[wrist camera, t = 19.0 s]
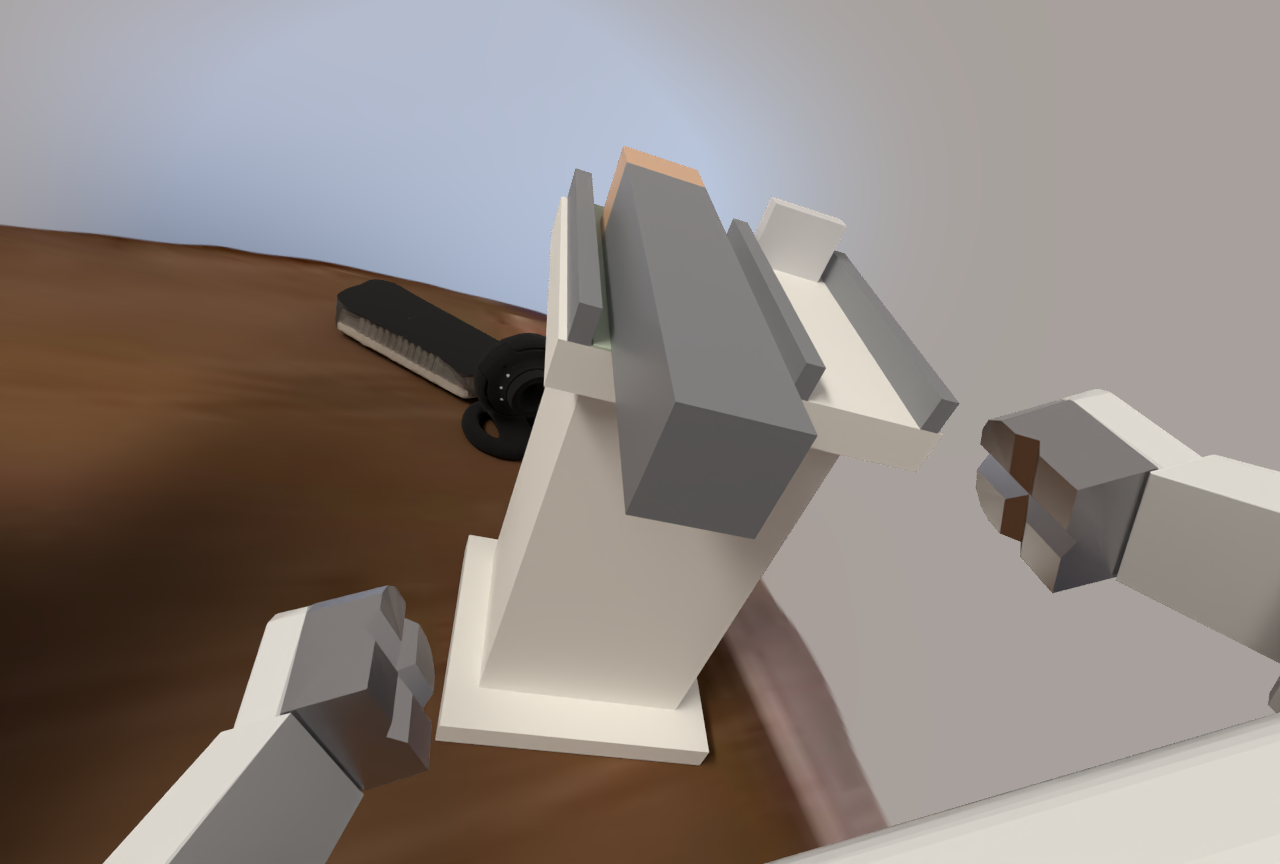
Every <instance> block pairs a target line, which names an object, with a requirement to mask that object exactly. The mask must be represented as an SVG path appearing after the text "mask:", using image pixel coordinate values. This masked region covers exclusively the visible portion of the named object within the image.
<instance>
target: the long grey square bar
mask: <svg viewBox="0 0 1280 864" xmlns="http://www.w3.org/2000/svg"><path fill="white" fill-rule="evenodd" d="M600 226H601V237H602V249H603V261H604V272H605V284H606V295H607V307H608V319H609V330H610V342H611V353H612V365H613V377H614V388H615V400H616V411H617V423H618V434H619V446H620V458H621V469H622V481H623V492H624V504H625V515H630V516H635V517H640V518H645V519H651V520H656V521H661V522H666V523H672V524H677V525H682V526H687V527H692V528H698V529H703V530H708V531H713V532H719V533H724V534H729V535H734V536H739V537H745V538H750V539H755V538H756V536H757V535H758V533H759V531H760V530H761V528H762V526H763V525H764V523H765V521H766V520H767V518H768V517H769V515H770V513H771V512H772V510H773V508H774V507H775V505H776V503H777V502H778V500H779V498H780V497H781V495H782V494H783V492H784V490H785V489H786V487H787V485H788V484H789V482H790V480H791V479H792V477H793V475H794V474H795V472H796V471H797V469H798V467H799V466H800V464H801V462H802V461H803V459H804V457H805V456H806V454H807V452H808V451H809V449H810V448H811V446H812V444H813V443H814V441H815V439H816V438H817V436H818V435H817V433H816V431H815V428H814V426H813V424H812V422H811V420H810V417H809V415H808V413H807V411H806V409H805V406H804V404H803V402H802V400H801V398H800V395H799V393H798V391H797V389H796V387H795V384H794V382H793V380H792V378H791V376H790V373H789V371H788V369H787V367H786V365H785V362H784V360H783V358H782V356H781V354H780V351H779V349H778V347H777V345H776V342H775V340H774V338H773V336H772V334H771V331H770V329H769V327H768V325H767V323H766V320H765V318H764V316H763V314H762V312H761V309H760V307H759V305H758V303H757V301H756V298H755V296H754V294H753V292H752V290H751V287H750V285H749V283H748V281H747V279H746V276H745V274H744V272H743V270H742V268H741V265H740V263H739V261H738V259H737V257H736V254H735V252H734V250H733V248H732V245H731V243H730V241H729V239H728V237H727V234H726V232H725V230H724V228H723V226H722V224H721V221H720V219H719V217H718V215H717V212H716V210H715V208H714V206H713V204H712V201H711V199H710V197H709V195H708V193H707V190H706V188H705V186H704V184H703V182H702V179H701V177H700V175H699V173H698V171H697V170H695V169H692V168H689V167H686V166H683V165H680V164H677V163H674V162H671V161H668V160H664V159H662V158H659V157H656V156H653V155H649V154H647V153H644V152H641V151H637V150H635V149H632V148H629V147H625V146H623V149H622V152H621V155H620V158H619V161H618V165H617V168H616V171H615V174H614V178H613V181H612V184H611V187H610V190H609V194H608V197H607V200H606V203H605V206H604V210H603V213H602V216H601V219H600Z"/></svg>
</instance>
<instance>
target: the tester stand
mask: <svg viewBox="0 0 1280 864" xmlns="http://www.w3.org/2000/svg"><path fill="white" fill-rule="evenodd" d="M603 210H604V207H602V206H599V205H595V204H594V199H593V186H592V174H591V173H589V172H585V171H582V170H579V169H575V172H574V176H573V180H572V183H571V187H570V190H569V194H568V198H566V197H563V196H562V197H561V200H560V203H559V207H558V211H557V215H556V218H555V222H554V226H553V229H552V233H551V250H550V271H549V290H548V311H547V331H546V351H545V371H544V387H545V389H544V393H543V396H542V399H541V402H540V406H539V409H538V412H537V415H536V419H535V422H534V425H533V428H532V432H531V435H530V438H529V441H528V445H527V448H526V451H525V454H524V458H523V461H522V464H521V467H520V471H519V474H518V477H517V480H516V484H515V487H514V490H513V493H512V496H511V500H510V503H509V506H508V509H507V513H506V516H505V519H504V522H503V526H502V529H501V532H500V535H499V539H498V540H496V539H491V538H485V537H479V536H473V535H469V537H468V541H467V544H466V548H465V554H464V560H463V566H462V573H461V579H460V585H459V592H458V598H457V605H456V611H455V617H454V624H453V630H452V637H451V643H450V649H449V656H448V662H447V668H446V675H445V681H444V688H443V694H442V700H441V707H440V713H439V719H438V726H437V732H436V739H435V740H436V741H447V742H457V743H468V744H479V745H489V746H500V747H511V748H521V749H532V750H543V751H553V752H564V753H575V754H585V755H596V756H607V757H617V758H628V759H638V760H649V761H660V762H670V763H681V764H692V765H700V764H701V763H702V761H703V760H704V759H705V757H706V756H707V755H708V753H709V749H708V743H707V737H706V731H705V724H704V718H703V712H702V706H701V700H700V694H699V688H698V682H697V676H698V674H699V673H700V671H701V670H702V668H703V667H704V665H705V664H706V662H707V660H708V659H709V657H710V656H711V654H712V653H713V651H714V650H715V648H716V647H717V645H718V643H719V642H720V640H721V639H722V637H723V636H724V634H725V633H726V631H727V629H728V628H729V626H730V625H731V623H732V622H733V620H734V619H735V617H736V615H737V614H738V612H739V611H740V609H741V608H742V606H743V605H744V603H745V602H746V600H747V598H748V597H749V595H750V594H751V592H752V591H753V589H754V588H755V586H756V584H757V583H758V581H759V580H760V578H761V577H762V575H763V574H764V572H765V570H766V569H767V567H768V566H769V564H770V563H771V561H772V560H773V558H774V557H775V555H776V553H777V552H778V550H779V549H780V547H781V545H782V544H783V543H784V541H785V539H786V538H787V536H788V534H789V533H790V532H791V530H792V529H793V527H794V525H795V524H796V522H797V521H798V519H799V518H800V516H801V515H802V513H803V512H804V510H805V508H806V507H807V505H808V504H809V502H810V501H811V499H812V497H813V496H814V494H815V493H816V491H817V490H818V488H819V487H820V485H821V483H822V482H823V480H824V479H825V477H826V476H827V474H828V473H829V471H830V470H831V468H832V466H833V465H834V463H835V462H836V460H837V459H838V457H839V456H840V455H843V456H848V457H852V458H856V459H860V460H865V461H870V462H873V463H878V464H882V465H886V466H891V467H895V468H899V469H904V470H908V471H912V472H917V470H918V469H919V468H920V467H921V465H922V464H923V463H924V461H925V460H926V458H927V457H928V456H929V454H930V453H931V452H932V450H933V449H934V448H935V446H936V445H937V444H938V442H939V441H940V440H941V438H942V437H943V434H942V432H941V431H940V429H941V428H942V427H943V425H944V424H945V422H946V421H947V420H948V418H949V417H950V416H951V414H952V413H953V412H954V410H955V409H956V407H957V406H958V405H959V402H958V401H957V400H956V399H955V397H954V396H953V395H952V393H951V392H950V391H949V389H948V388H947V387H946V385H945V384H944V383H943V381H942V380H941V379H940V378H939V376H938V375H937V374H936V372H935V371H934V370H933V368H932V367H931V366H930V365H929V363H928V362H927V361H926V359H925V358H924V357H923V355H922V354H921V353H920V351H919V350H918V349H917V347H916V346H915V345H914V344H913V342H912V341H911V340H910V338H909V337H908V336H907V334H906V333H905V332H904V330H902V328H901V327H900V325H899V324H898V323H897V321H896V320H895V319H894V317H893V316H892V315H891V313H890V312H889V311H888V310H887V309H886V307H885V306H884V305H883V303H882V302H881V300H880V299H879V298H878V297H877V295H876V294H875V293H874V291H873V290H872V289H871V287H870V286H869V285H868V283H867V282H866V281H865V280H864V278H863V277H862V276H861V274H860V273H859V272H858V270H857V269H856V268H855V266H854V265H853V264H852V262H851V261H850V260H849V259H848V257H847V256H846V255H845V254H844V253H841V252H838V251H835V248H836V246H837V244H838V242H839V241H840V239H841V237H842V235H843V233H844V231H845V229H846V227H847V226H846V225H845V224H844V223H843V221H842V220H841V219H838V218H835V217H832V216H829V215H826V214H823V213H820V212H817V211H814V210H811V209H808V208H805V207H802V206H799V205H796V204H793V203H790V202H787V201H784V200H781V199H778V198H775V197H771V199H770V201H769V203H768V205H767V208H766V210H765V212H764V214H763V217H762V219H761V221H760V223H759V226H758V228H757V230H756V232H755V234H753V232H752V230H751V228H750V227H749V225H748V223H746V222H743V221H740V220H737V219H733V221H732V223H731V225H730V228H729V230H728V233H727V237H728V239H729V241H730V243H731V245H732V248H733V250H734V252H735V254H736V257H737V259H738V261H739V263H740V265H741V268H742V270H743V272H744V274H745V276H746V279H747V281H748V283H749V285H750V287H751V290H752V292H753V294H754V296H755V298H756V301H757V303H758V305H759V307H760V309H761V312H762V314H763V316H764V318H765V320H766V323H767V325H768V327H769V329H770V331H771V334H772V336H773V338H774V340H775V342H776V345H777V347H778V349H779V351H780V354H781V356H782V358H783V360H784V362H785V365H786V367H787V369H788V371H789V373H790V376H791V378H792V380H793V382H794V384H795V387H796V389H797V391H798V393H799V395H800V398H801V400H802V402H803V404H804V406H805V409H806V411H807V413H808V415H809V417H810V420H811V422H812V424H813V426H814V428H815V431H816V433H817V435H818V436H817V438H816V439H815V441H814V443H813V444H812V446H811V448H810V449H809V451H808V452H807V454H806V456H805V457H804V459H803V461H802V462H801V464H800V466H799V467H798V469H797V471H796V472H795V474H794V475H793V477H792V479H791V480H790V482H789V484H788V485H787V487H786V489H785V490H784V492H783V494H782V495H781V497H780V498H779V500H778V502H777V503H776V505H775V507H774V508H773V510H772V512H771V513H770V515H769V517H768V518H767V520H766V521H765V523H764V525H763V526H762V528H761V530H760V531H759V533H758V535H757V536H756V538H755V539H750V538H745V537H739V536H734V535H729V534H724V533H719V532H713V531H708V530H703V529H698V528H692V527H687V526H682V525H677V524H672V523H666V522H661V521H656V520H651V519H645V518H640V517H635V516H630V515H625V504H624V492H623V481H622V469H621V458H620V446H619V434H618V423H617V411H616V400H615V388H614V377H613V365H612V353H611V342H610V330H609V319H608V307H607V295H606V284H605V272H604V261H603V249H602V237H601V226H600V219H601V216H602V213H603Z"/></svg>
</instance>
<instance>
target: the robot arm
mask: <svg viewBox="0 0 1280 864" xmlns="http://www.w3.org/2000/svg"><path fill="white" fill-rule="evenodd" d="M981 445H982V446H983V447H984V448H985V449H986V450H987V451H988V452H989V453H990V454H989V455H988V456H987V458H986V459H985V460H984V461H983V463H982V464H981V465H980V467H979V468H978V469H977V481H976V490H977V493H978V497H979V501H980V505H981V507H982V508H983V511H984V513H985V514H986V516H987V518H988V520H989V521H990V522H991V523H992V525H993V526H994V527H995V528H996V529H997V531H998V532H999V533H1000V534H1003V535H1005V536H1008V537H1010V538H1013V539H1015V540H1018V541H1020V542H1021V550H1020V557H1021V558H1022V559H1023V560H1024V562H1025V563H1026V564H1027V565H1028V566H1029V567H1030V568H1031V569H1032V571H1034V573H1035V574H1036V575H1037V576H1038V577H1039V578H1040V580H1041V581H1042V582H1043V583H1044V584H1045V585H1046V586H1047V588H1048V589H1049V590H1050V591H1051V592H1052V593H1055V592H1059V591H1062V590H1067V589H1071V588H1074V587H1079V586H1082V585H1086V584H1090V583H1094V582H1098V581H1102V580H1106V579H1110V578H1114V577H1116V581H1118V582H1120V583H1122V584H1124V585H1126V586H1128V587H1130V588H1132V589H1134V590H1136V591H1138V592H1140V593H1142V594H1144V595H1146V596H1148V597H1150V598H1152V599H1153V600H1156V601H1157V602H1160V603H1161V604H1163V605H1165V606H1167V607H1169V608H1171V609H1173V610H1175V611H1177V612H1179V613H1181V614H1183V615H1185V616H1187V617H1189V618H1191V619H1193V620H1195V621H1197V622H1199V623H1201V624H1203V625H1205V626H1207V627H1209V628H1211V629H1213V630H1215V631H1217V632H1219V633H1221V634H1223V635H1225V636H1227V637H1229V638H1231V639H1233V640H1235V641H1237V642H1239V643H1241V644H1243V645H1245V646H1247V647H1248V648H1251V649H1252V650H1255V651H1257V652H1258V653H1260V654H1262V655H1264V656H1266V657H1268V658H1270V659H1273V660H1274V661H1276V662H1278V663H1280V472H1278V471H1274V470H1271V469H1266V468H1263V467H1259V466H1255V465H1251V464H1248V463H1244V462H1240V461H1236V460H1233V459H1229V458H1225V457H1221V456H1218V455H1210V456H1207V457H1201V456H1199V455H1198V454H1196V453H1195V452H1194V451H1192V450H1191V449H1189V448H1188V447H1187V446H1185V445H1184V444H1182V443H1181V442H1179V441H1178V440H1177V439H1175V438H1174V437H1172V436H1171V435H1170V434H1168V433H1167V432H1166V431H1164V430H1163V429H1161V428H1160V427H1158V426H1157V425H1156V424H1154V423H1153V422H1151V421H1150V420H1149V419H1147V418H1146V417H1144V416H1143V415H1142V414H1140V413H1139V412H1137V411H1136V410H1135V409H1133V408H1132V407H1130V406H1129V405H1128V404H1126V403H1125V402H1123V401H1122V400H1121V399H1119V398H1118V397H1116V396H1115V395H1114V394H1112V393H1111V392H1108V391H1105V390H1101V389H1094V390H1091V391H1087V392H1084V393H1080V394H1077V395H1073V396H1070V397H1066V398H1063V399H1060V400H1059V401H1054V402H1050V403H1047V404H1043V405H1040V406H1036V407H1033V408H1029V409H1026V410H1022V411H1018V412H1015V413H1012V414H1008V415H1004V416H1001V417H997V418H994V419H990V420H988V422H987V423H986V425H985V426H984V428H983V431H982V437H981ZM405 607H406V602H405V601H404V599H403V598H402V596H401V595H400V593H399V592H398V590H397V589H396V587H394V586H383V587H379V588H375V589H371V590H367V591H363V592H359V593H355V594H351V595H347V596H343V597H339V598H335V599H331V600H327V601H323V602H319V603H315V604H314V605H312V606H308V607H303V608H299V609H295V610H291V611H287V612H283V613H278V614H276V615H275V616H274V617H273V618H272V619H271V620H270V621H269V622H268V623H267V625H266V628H265V632H264V635H263V638H262V641H261V644H260V647H259V650H258V653H257V656H256V660H255V663H254V666H253V669H252V672H251V675H250V678H249V681H248V684H247V688H246V691H245V694H244V697H243V700H242V703H241V706H240V709H239V712H238V716H237V719H236V722H235V725H234V728H233V729H230V730H227V731H224V732H221V733H220V734H219V735H218V736H217V737H216V738H215V740H214V741H213V742H212V743H211V744H210V745H209V746H208V747H207V748H206V750H205V751H204V752H203V753H202V754H201V755H200V756H199V757H198V758H197V760H196V761H195V762H194V763H193V764H192V765H191V766H190V767H189V768H188V770H187V771H186V772H185V773H184V774H183V775H182V776H181V777H180V778H179V780H178V781H177V782H176V783H175V784H174V785H173V786H172V787H171V788H170V790H169V791H168V792H167V793H166V794H165V795H164V796H163V797H162V799H161V800H160V801H159V802H158V803H157V804H156V805H155V806H154V807H153V809H152V810H151V811H150V812H149V813H148V814H147V815H146V816H145V817H144V819H143V820H142V821H141V822H140V823H139V824H138V825H137V826H136V827H135V829H134V830H133V831H132V832H131V833H130V834H129V835H128V836H127V837H126V839H125V840H124V841H123V842H122V843H121V844H120V845H119V846H118V847H117V849H116V850H115V851H114V852H113V853H112V854H111V855H110V856H109V857H108V859H107V860H106V861H105V862H104V863H103V864H325V863H326V861H327V859H328V857H329V856H330V854H331V852H332V850H333V849H334V847H335V845H336V843H337V842H338V840H339V838H340V836H341V834H342V833H343V831H344V829H345V827H346V826H347V824H348V822H349V820H350V819H351V817H352V815H353V813H354V812H355V810H356V808H357V806H358V804H359V803H360V801H361V799H362V797H363V796H364V795H363V793H362V791H365V790H369V789H372V788H375V787H378V786H381V785H384V784H388V783H391V782H394V781H397V780H400V779H404V778H407V777H410V776H413V775H416V774H420V773H423V772H426V771H428V768H429V754H430V739H431V725H432V722H431V721H430V719H429V718H428V716H427V715H426V713H425V712H424V710H423V709H422V708H423V707H424V706H425V704H426V703H427V701H428V700H429V698H430V697H431V695H432V694H433V692H434V674H435V672H434V665H433V659H432V652H431V649H430V646H429V643H428V640H427V638H426V635H425V634H424V632H423V630H422V628H421V627H420V625H419V624H418V623H415V622H413V621H411V620H408V619H406V618H404V616H405ZM1268 705H1269V706H1270V707H1271V708H1272V709H1273V710H1274V711H1275V712H1276V714H1272V715H1269V716H1265V717H1262V718H1258V719H1255V720H1252V721H1248V722H1245V723H1242V724H1238V725H1235V726H1231V727H1228V728H1224V729H1221V730H1218V731H1214V732H1211V733H1207V734H1204V735H1201V736H1197V737H1194V738H1190V739H1187V740H1184V741H1180V742H1177V743H1173V744H1170V745H1166V746H1163V747H1160V748H1156V749H1153V750H1149V751H1146V752H1143V753H1139V754H1136V755H1132V756H1129V757H1126V758H1123V759H1119V760H1115V761H1112V762H1109V763H1105V764H1102V765H1099V766H1095V767H1092V768H1088V769H1085V770H1082V771H1078V772H1075V773H1071V774H1068V775H1064V776H1061V777H1058V778H1054V779H1051V780H1047V781H1044V782H1041V783H1038V784H1034V785H1030V786H1027V787H1024V788H1020V789H1017V790H1014V791H1010V792H1007V793H1003V794H1000V795H996V796H993V797H989V798H986V799H983V800H979V801H976V802H972V803H969V804H966V805H963V806H959V807H956V808H952V809H949V810H945V811H942V812H939V813H935V814H932V815H928V816H925V817H921V818H918V819H915V820H911V821H908V822H905V823H901V824H898V825H894V826H891V827H888V828H884V829H881V830H877V831H874V832H871V833H867V834H864V835H860V836H857V837H854V838H850V839H847V840H843V841H840V842H837V843H833V844H830V845H826V846H823V847H820V848H816V849H813V850H809V851H806V852H803V853H799V854H796V855H792V856H789V857H786V858H782V859H779V860H775V861H772V862H769V863H765V864H1280V677H1279V678H1278V680H1277V681H1276V683H1275V685H1274V687H1273V688H1272V690H1271V691H1270V694H1269V702H1268Z"/></svg>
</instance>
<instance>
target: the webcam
mask: <svg viewBox="0 0 1280 864" xmlns="http://www.w3.org/2000/svg"><path fill="white" fill-rule="evenodd" d="M545 351H546V337H545V336H542V335H539V334H533V333H522V334H517V335H514V336H511V337H508V338H504V339H502V340H500V341H499V342H497V343H495V344H494V345H492V346H491V347H490V348H489V349H488V350H487V351H486V353H485V354H484V355H483V356H482V358H481V360H480V361H479V363H478V366H477V367H476V370H475V374H474V387H475V392H476V394H477V397H478V399H479V401H477V402H475V403H473V404H472V405H470V406H469V407H468V408H467V409H466V411H465V412H464V414H463V418H462V428H463V432H464V434H465V435H466V437H467V438H468V440H469V441H470V442H471V443H472V444H473V445H474V446H475V447H477V448H478V449H479V450H481V451H483V452H485V453H487V454H490V455H493V456H496V457H499V458H502V459H507V460H519V459H523V458H524V454H525V451H526V448H527V445H528V441H529V438H530V435H531V432H532V430H531V429H532V428H533V425H534V422H535V419H536V415H537V412H538V409H539V406H540V402H541V399H542V396H543V393H544V389H545V387H544V371H545ZM485 395H486V396H487V397H486V396H485ZM486 415H490V416H491V417H492V419H493V421H494V423H495V425H496V427H497V429H498V432H499V438H494V437H492V436H490V435H489V434H487V433H486V432H485V431H484V430H483V429H482V428H481V427H480V425H479V421H480V419H481V418H482V417H484V416H486Z"/></svg>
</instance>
